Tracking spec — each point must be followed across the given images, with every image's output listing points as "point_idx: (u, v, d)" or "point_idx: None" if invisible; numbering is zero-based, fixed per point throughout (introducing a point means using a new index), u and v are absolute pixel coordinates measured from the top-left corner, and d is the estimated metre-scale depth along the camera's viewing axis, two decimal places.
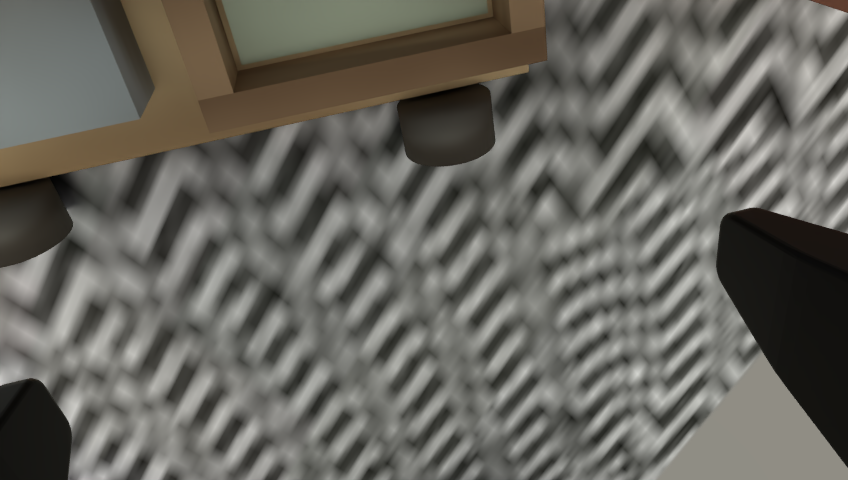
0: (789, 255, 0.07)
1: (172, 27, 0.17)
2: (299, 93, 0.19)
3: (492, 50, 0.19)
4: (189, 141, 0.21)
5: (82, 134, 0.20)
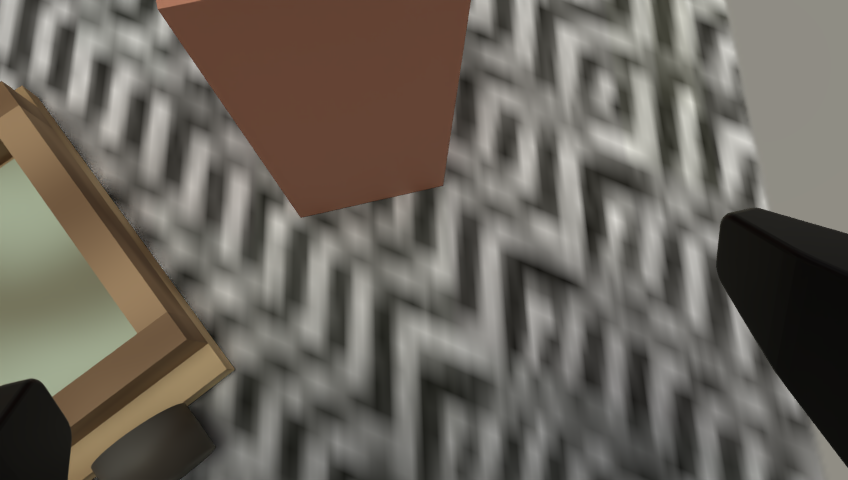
0: (789, 255, 0.07)
1: None
2: None
3: (126, 357, 0.19)
4: None
5: None
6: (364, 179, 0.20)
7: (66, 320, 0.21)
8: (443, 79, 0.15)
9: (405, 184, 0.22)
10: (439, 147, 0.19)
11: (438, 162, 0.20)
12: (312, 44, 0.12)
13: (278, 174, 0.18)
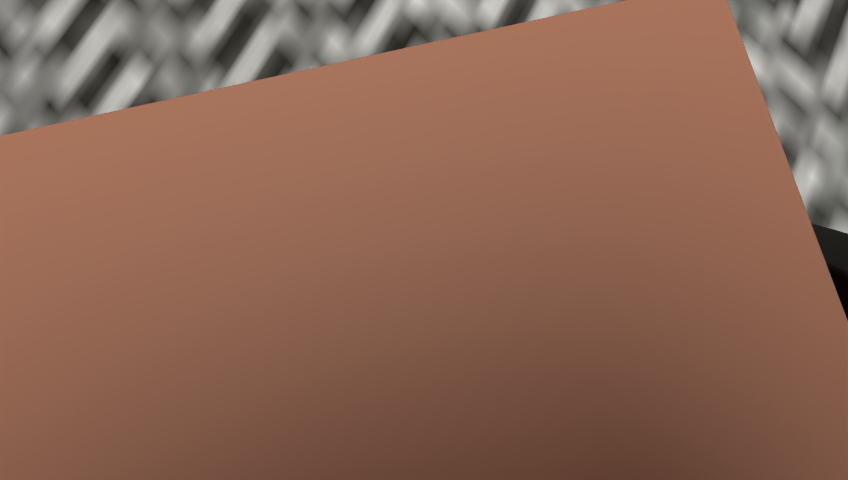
0: None
1: None
2: None
3: None
4: None
5: None
6: None
7: None
8: None
9: None
10: None
11: None
12: None
13: None
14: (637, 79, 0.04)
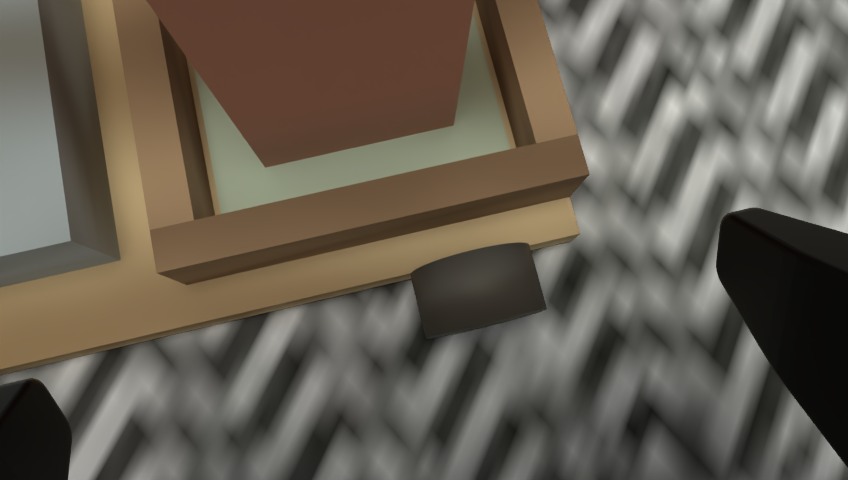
0: (789, 255, 0.07)
1: (137, 146, 0.15)
2: (274, 219, 0.15)
3: (515, 163, 0.15)
4: (147, 329, 0.16)
5: (22, 319, 0.16)
6: (347, 107, 0.15)
7: None
8: None
9: (403, 119, 0.16)
10: (452, 56, 0.13)
11: (449, 84, 0.15)
12: None
13: (220, 89, 0.12)
14: None
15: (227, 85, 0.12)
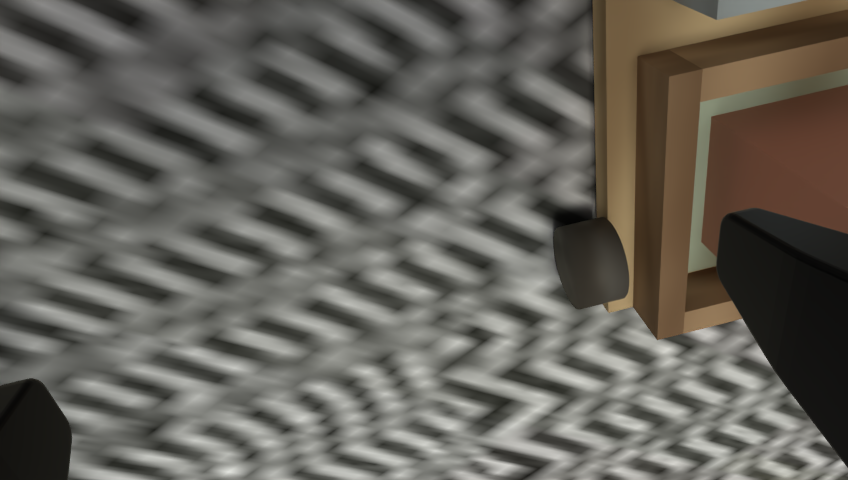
0: (789, 255, 0.07)
1: (769, 54, 0.19)
2: (683, 158, 0.20)
3: (675, 301, 0.23)
4: (610, 25, 0.20)
5: None
6: None
7: None
8: None
9: None
10: None
11: None
12: None
13: (805, 186, 0.18)
14: None
15: (806, 192, 0.18)
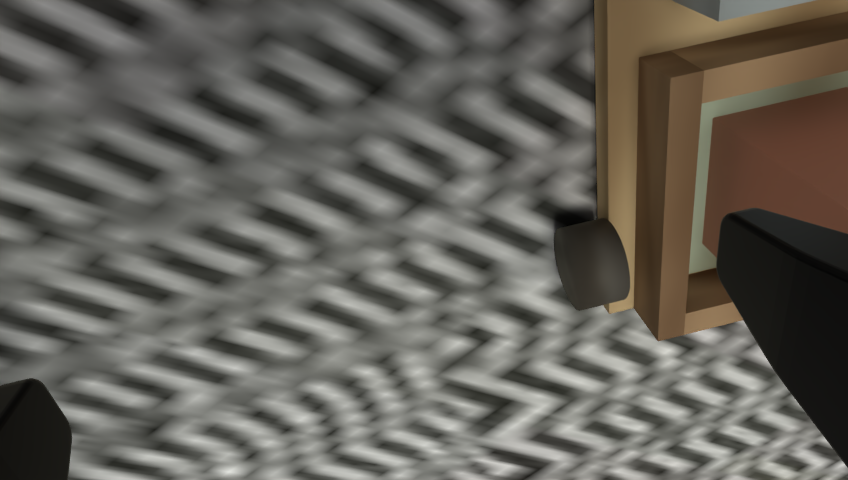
0: (789, 255, 0.07)
1: (770, 56, 0.19)
2: (685, 160, 0.20)
3: (676, 303, 0.23)
4: (611, 26, 0.20)
5: None
6: None
7: None
8: None
9: None
10: None
11: None
12: None
13: (806, 188, 0.18)
14: None
15: (807, 194, 0.18)
